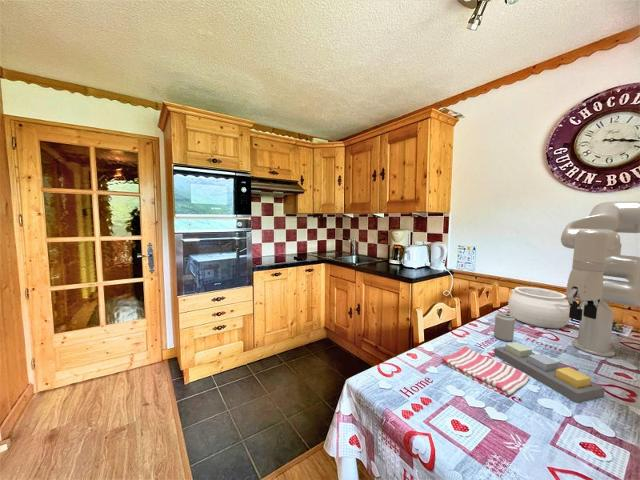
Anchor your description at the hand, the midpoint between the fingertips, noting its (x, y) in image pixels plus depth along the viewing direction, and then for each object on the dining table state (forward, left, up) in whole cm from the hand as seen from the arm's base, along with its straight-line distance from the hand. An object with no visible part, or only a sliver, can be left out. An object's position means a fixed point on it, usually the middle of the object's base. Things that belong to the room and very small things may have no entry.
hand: (582, 317), depth 87 cm
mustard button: (+7, +3, -20) cm, 21 cm away
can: (-5, -31, -23) cm, 39 cm away
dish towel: (+27, -12, -23) cm, 38 cm away
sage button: (+7, -15, -20) cm, 26 cm away
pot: (-44, -44, -23) cm, 66 cm away
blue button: (+7, -6, -20) cm, 22 cm away
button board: (+7, -6, -23) cm, 24 cm away
